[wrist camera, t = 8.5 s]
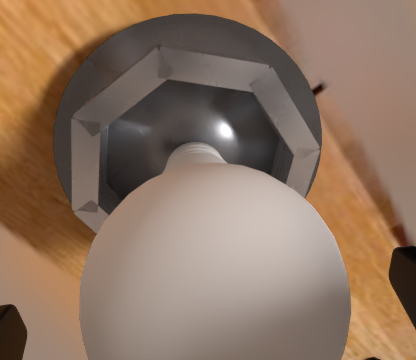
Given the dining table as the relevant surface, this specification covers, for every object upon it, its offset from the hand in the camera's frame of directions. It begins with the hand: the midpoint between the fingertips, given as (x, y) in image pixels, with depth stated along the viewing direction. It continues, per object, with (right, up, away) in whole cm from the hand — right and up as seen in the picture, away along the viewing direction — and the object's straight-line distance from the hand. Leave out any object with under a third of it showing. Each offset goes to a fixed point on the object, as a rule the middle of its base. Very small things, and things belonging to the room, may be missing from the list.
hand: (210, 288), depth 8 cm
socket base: (-1, +4, +9) cm, 10 cm away
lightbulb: (-1, +4, +7) cm, 8 cm away
